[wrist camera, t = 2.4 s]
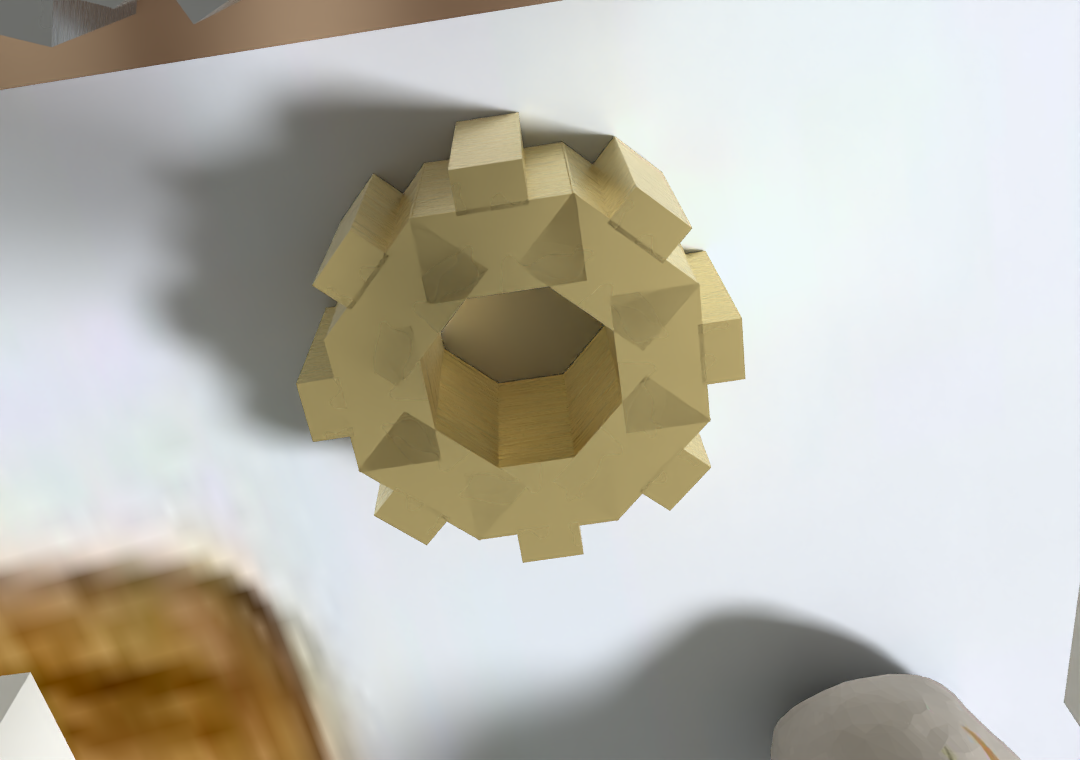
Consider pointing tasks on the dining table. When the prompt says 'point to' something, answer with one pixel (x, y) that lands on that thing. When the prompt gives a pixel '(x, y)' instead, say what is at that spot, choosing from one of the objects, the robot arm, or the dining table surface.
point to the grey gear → (80, 17)
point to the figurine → (885, 724)
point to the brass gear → (532, 404)
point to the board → (217, 33)
